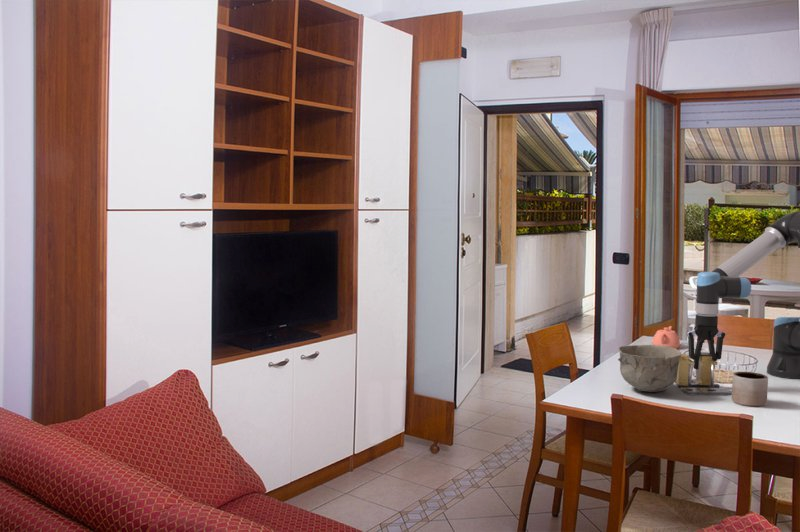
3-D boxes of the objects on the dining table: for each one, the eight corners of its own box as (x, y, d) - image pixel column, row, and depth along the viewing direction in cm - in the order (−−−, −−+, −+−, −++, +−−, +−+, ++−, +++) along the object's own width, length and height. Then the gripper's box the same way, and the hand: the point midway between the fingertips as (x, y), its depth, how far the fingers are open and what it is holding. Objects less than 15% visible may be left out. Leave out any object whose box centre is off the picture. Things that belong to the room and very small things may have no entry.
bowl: (649, 402, 243) (651, 358, 241) (603, 387, 262) (604, 346, 261) (694, 394, 253) (696, 352, 252) (647, 380, 272) (648, 341, 271)
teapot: (648, 349, 332) (648, 328, 331) (657, 342, 347) (658, 323, 346) (675, 352, 326) (676, 331, 325) (683, 345, 341) (684, 325, 340)
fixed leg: (683, 382, 266) (684, 353, 265) (696, 390, 254) (697, 360, 253) (674, 382, 266) (675, 353, 265) (686, 390, 254) (687, 360, 253)
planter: (724, 398, 248) (726, 371, 247) (754, 398, 249) (756, 371, 248) (742, 407, 237) (743, 379, 236) (773, 407, 238) (775, 378, 237)
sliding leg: (705, 381, 265) (707, 352, 264) (719, 390, 253) (721, 359, 252) (695, 381, 265) (696, 352, 264) (708, 390, 253) (710, 359, 252)
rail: (717, 386, 264) (717, 383, 264) (719, 388, 262) (719, 385, 262) (676, 386, 264) (676, 383, 264) (678, 387, 262) (678, 384, 262)
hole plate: (726, 390, 258) (726, 387, 258) (733, 395, 252) (733, 392, 252) (681, 390, 259) (681, 387, 259) (688, 394, 253) (688, 391, 253)
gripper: (725, 313, 264) (722, 375, 266) (679, 312, 264) (677, 375, 267) (734, 316, 257) (731, 380, 259) (687, 316, 257) (684, 380, 259)
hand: (703, 377), depth 263 cm, fingers closed on sliding leg, 3 cm apart
